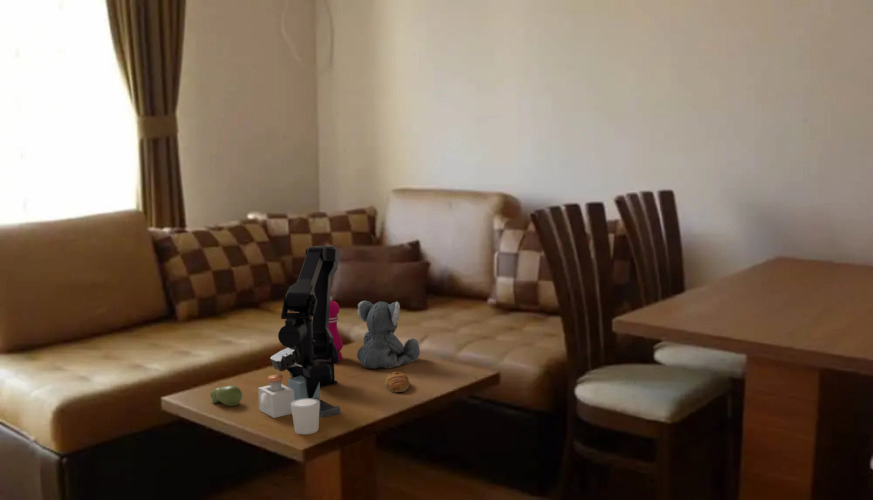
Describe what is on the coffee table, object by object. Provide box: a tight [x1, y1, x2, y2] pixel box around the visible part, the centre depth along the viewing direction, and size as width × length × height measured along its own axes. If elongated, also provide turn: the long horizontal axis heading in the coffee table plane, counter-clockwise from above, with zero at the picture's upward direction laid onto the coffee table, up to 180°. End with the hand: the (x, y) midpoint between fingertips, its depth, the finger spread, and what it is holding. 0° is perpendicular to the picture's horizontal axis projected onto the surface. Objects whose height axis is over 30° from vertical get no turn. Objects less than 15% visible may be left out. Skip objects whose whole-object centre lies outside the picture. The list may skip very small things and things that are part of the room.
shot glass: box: [291, 398, 320, 435], centre depth 215 cm, size 7×7×7 cm
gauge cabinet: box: [257, 383, 295, 419], centre depth 228 cm, size 6×8×6 cm
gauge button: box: [267, 374, 283, 392], centre depth 228 cm, size 4×4×6 cm
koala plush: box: [356, 300, 420, 370], centre depth 270 cm, size 17×18×20 cm
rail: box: [314, 398, 341, 419], centre depth 233 cm, size 5×20×2 cm, turn 38°
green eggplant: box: [210, 385, 243, 407], centre depth 236 cm, size 6×5×10 cm
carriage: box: [287, 376, 321, 400], centre depth 235 cm, size 6×6×6 cm
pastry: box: [384, 371, 411, 393], centre depth 246 cm, size 9×7×4 cm
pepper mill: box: [329, 295, 344, 361], centre depth 275 cm, size 7×7×20 cm
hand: (304, 395), depth 235 cm, fingers closed on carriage, 6 cm apart
